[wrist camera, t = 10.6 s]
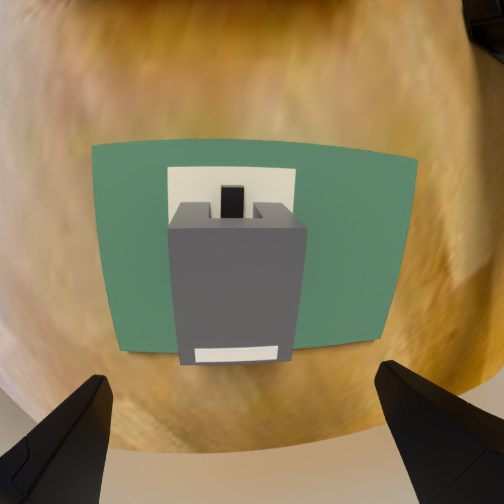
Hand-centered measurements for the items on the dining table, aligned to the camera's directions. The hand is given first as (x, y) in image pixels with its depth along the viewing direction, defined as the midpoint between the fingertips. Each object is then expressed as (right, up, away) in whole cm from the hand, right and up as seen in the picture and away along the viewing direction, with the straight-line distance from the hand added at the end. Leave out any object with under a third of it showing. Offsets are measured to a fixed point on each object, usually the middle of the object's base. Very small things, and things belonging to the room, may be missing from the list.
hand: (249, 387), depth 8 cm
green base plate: (+1, +4, +10) cm, 11 cm away
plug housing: (-1, +4, +9) cm, 10 cm away
